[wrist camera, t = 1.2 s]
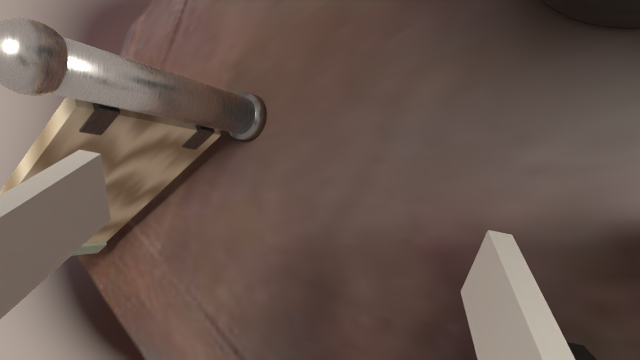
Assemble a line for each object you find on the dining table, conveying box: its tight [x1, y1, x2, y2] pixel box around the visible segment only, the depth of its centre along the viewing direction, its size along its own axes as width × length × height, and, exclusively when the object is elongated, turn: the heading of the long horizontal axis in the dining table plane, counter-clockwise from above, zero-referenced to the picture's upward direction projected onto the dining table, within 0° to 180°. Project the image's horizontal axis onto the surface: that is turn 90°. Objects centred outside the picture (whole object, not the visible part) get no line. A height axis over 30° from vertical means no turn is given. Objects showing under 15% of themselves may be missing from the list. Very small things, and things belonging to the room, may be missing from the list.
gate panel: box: [0, 97, 221, 256], centre depth 38 cm, size 26×2×14 cm, turn 119°
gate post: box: [0, 18, 266, 141], centre depth 29 cm, size 5×5×21 cm
